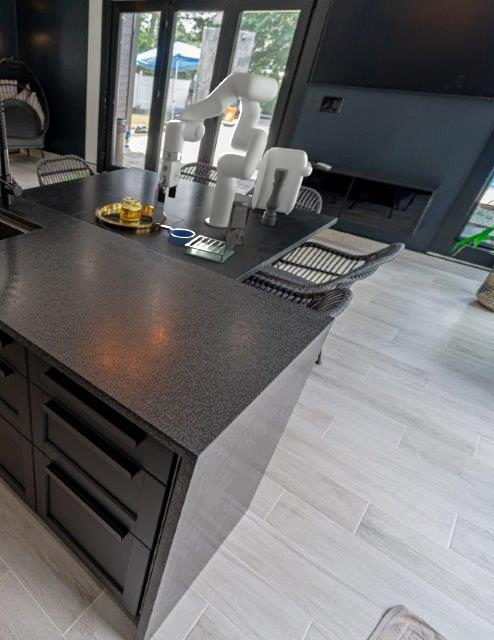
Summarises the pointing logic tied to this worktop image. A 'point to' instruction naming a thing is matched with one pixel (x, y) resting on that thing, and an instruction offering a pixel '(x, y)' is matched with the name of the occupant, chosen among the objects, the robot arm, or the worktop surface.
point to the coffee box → (238, 220)
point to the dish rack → (212, 248)
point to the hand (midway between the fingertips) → (166, 199)
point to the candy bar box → (158, 209)
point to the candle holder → (274, 197)
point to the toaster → (290, 190)
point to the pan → (177, 234)
